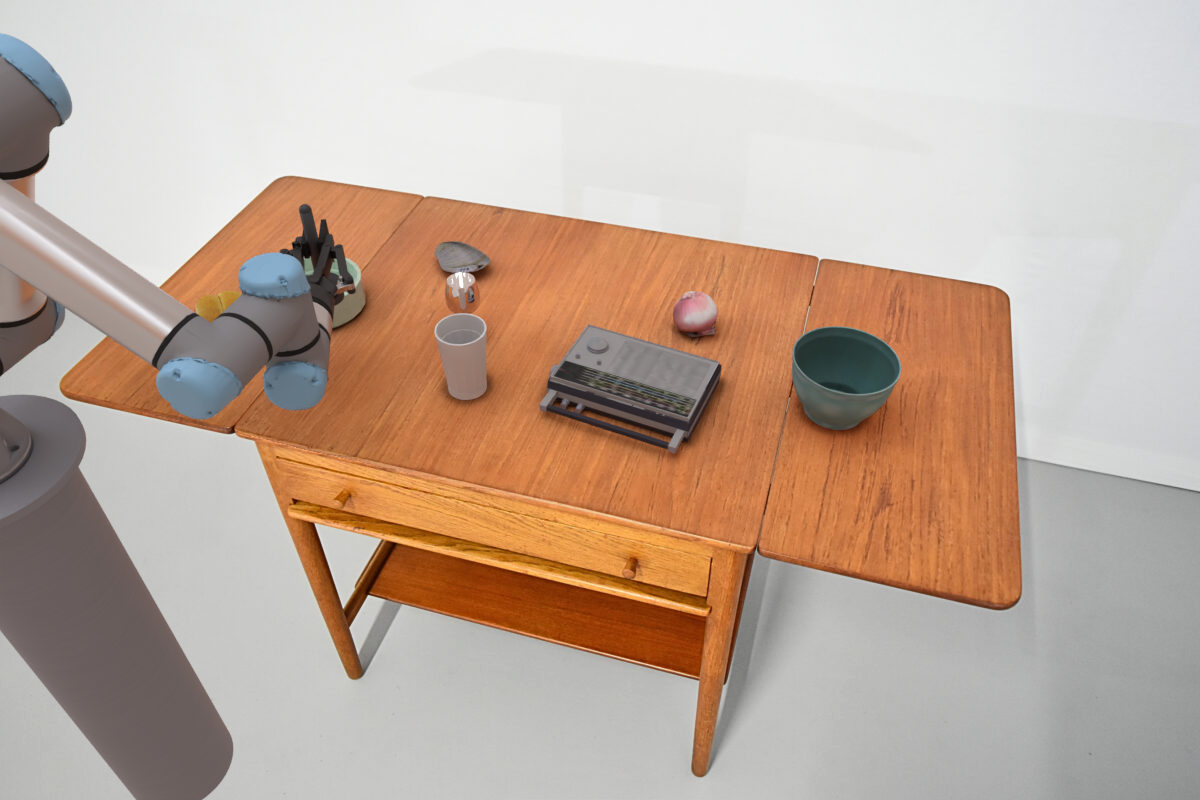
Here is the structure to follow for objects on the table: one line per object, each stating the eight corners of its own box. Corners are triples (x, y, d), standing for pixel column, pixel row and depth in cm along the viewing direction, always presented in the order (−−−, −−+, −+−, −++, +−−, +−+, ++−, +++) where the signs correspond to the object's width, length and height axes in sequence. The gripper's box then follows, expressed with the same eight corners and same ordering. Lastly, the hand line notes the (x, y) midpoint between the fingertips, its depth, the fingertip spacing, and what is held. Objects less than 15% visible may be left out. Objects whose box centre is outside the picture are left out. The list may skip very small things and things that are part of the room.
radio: (723, 355, 144) (680, 436, 131) (720, 380, 148) (678, 461, 134) (585, 316, 151) (531, 389, 138) (585, 341, 155) (532, 414, 141)
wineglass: (475, 350, 152) (469, 293, 144) (444, 343, 154) (437, 286, 146) (489, 330, 157) (484, 274, 148) (459, 324, 158) (452, 267, 150)
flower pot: (841, 365, 151) (854, 314, 143) (907, 426, 140) (924, 374, 133) (762, 395, 145) (771, 343, 138) (823, 460, 135) (837, 408, 127)
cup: (435, 380, 147) (426, 322, 139) (480, 365, 150) (474, 307, 142) (454, 409, 142) (446, 351, 134) (500, 393, 145) (495, 335, 137)
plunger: (320, 312, 140) (297, 219, 128) (301, 297, 143) (276, 204, 131) (351, 298, 143) (331, 205, 131) (332, 283, 145) (310, 191, 134)
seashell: (421, 271, 169) (418, 248, 166) (447, 249, 175) (444, 227, 171) (473, 289, 165) (471, 266, 162) (498, 267, 171) (496, 244, 167)
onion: (693, 309, 162) (696, 276, 157) (726, 329, 158) (730, 296, 153) (663, 328, 157) (665, 295, 153) (696, 349, 153) (699, 315, 149)
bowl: (308, 345, 153) (300, 317, 149) (262, 306, 161) (253, 278, 157) (383, 307, 161) (378, 279, 157) (335, 271, 169) (329, 244, 165)
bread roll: (254, 321, 158) (248, 302, 155) (201, 334, 155) (194, 315, 152) (247, 295, 163) (241, 277, 161) (195, 307, 160) (188, 289, 158)
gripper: (255, 345, 125) (273, 251, 142) (364, 335, 127) (369, 244, 144) (241, 301, 120) (261, 209, 137) (354, 292, 121) (361, 202, 138)
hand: (316, 227), depth 140 cm, fingers closed on plunger, 2 cm apart
